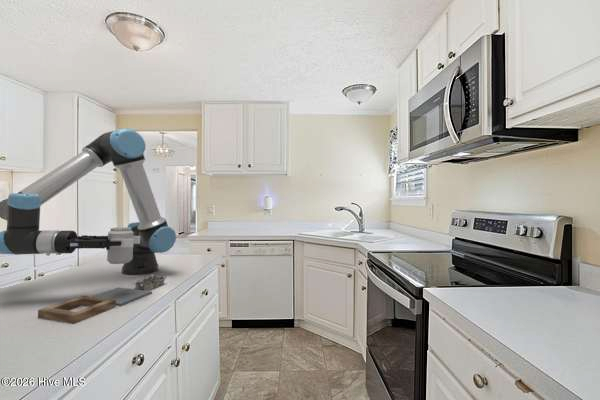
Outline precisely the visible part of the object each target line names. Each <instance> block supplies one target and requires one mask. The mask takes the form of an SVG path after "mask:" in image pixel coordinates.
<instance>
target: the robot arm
mask: <svg viewBox="0 0 600 400" xmlns="http://www.w3.org/2000/svg"><path fill="white" fill-rule="evenodd" d="M81 149H82V150H81V152H80V153H78V154H77V155H75V156H73V157H71V158H70V159H69V160H67V161H65V162H64V163H63V164H61V165H59V166H57V167H56V168H54V169H53V170H50V171H49V172H48V173H46V174H45V175H44V176H42V177H41V178H39V179H37V180H36V181H33V182H32V183H30V184H29V185H28V186H26V187H24V188H22V189H21V190H20V191H18V192H17V193H16V192H15V193H13V192H12V193H10V194H8V197H7V198H5V199H3V200H1V201H0V219H2V220H4V221H7V222H6V228H5V229H6V230H2V231H0V254H1V255H15V256H16V255H17V256H19V255H45V256H50V255H51V254H54V255H55V254H72V253H74V252H75V251H76V249H80V250H81V249H103V250H104V249H105V250H106V251H108V250H110V246H111V247H133V259H132V260H131V261H130V262H128V263H124V264H123V265H122V266H121V273H122V274H125V275H143V274H144V275H145V274H150V273H151V274H152V273H154V272H156V271H158V270H159V263H158V261H157V257H156V254H157V253H159V254H161V253H163V254H164V253H166V252H169V251H170V250H171V249H172V248H173V247H174V245H175V243H176V241H177V233H176V231H175V230H174V229H173V228H172V227H170V226H169V225H168V222H167V219H166V217H162V216H161V213H160V210H159V208H158V205H157V202H156V198H155V196H154V193H153V190H152V187H151V185H150V181H149V179H148V176H147V173H146V170H145V167H144V162H146V158H145V154H144V153H145V151H146V142H145V140H144V138H143V136H142V135H141V134H140V133H139V132H137V131H135V130H133V129H131V128H118V129H115V130H112V131H108V132H104V133H102V134H101V135H99V136H98V137H97V138H95V139H94V140H93V141H91V142H90V143H88V144H87V145H86V146H83V147H82V148H81ZM109 163H112V164H113V167H114V168H117V169H119V171H120V174H121V176H122V179H123V182H124V184H125V188H126V189H127V193H128V195H129V197H130V200H131V203H132V206H133V209H134V211H135V213H136V217H137V219H138V221H139V222H138V221H137V222H130V223H129V224H128V225H127V227H128V228H132V229H131V230H132V231H133V239H111V241H110V240H109V239H108V235H86V234H85V235H78V234H77V232H76V231H75V230H50V229H49V230H48V229H47V230H40V218H41V206H43V205H44V204H45V203H47V202H48V201H50V200H51V199H52V198H54V197H56V196H57V195H59V194H60V193H61V192H63V191H64V190H66V189H67V188H69V187H70V186H72V185H73V184H75V183H76V182H78V181H79V180H80V179H82V178H83V177H85V176H87V174H89V173H91V172H92V171H94V170H95V169H96V168H102V167H104V166H106V165H107V164H109ZM155 253H156V254H155Z"/></svg>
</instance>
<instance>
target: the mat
mask: <svg viewBox="0 0 600 400" xmlns="http://www.w3.org/2000/svg"><path fill="white" fill-rule="evenodd" d="M152 293H153V291H152V290H147V291H144V289H141V290H136V288H134V289H133V288H127V287H115V288H113V289H109V290H106V291H104V292H100V293H97V294H94V295H91V296H90V297H98V298H105V299H112V300H116V307H123V306H125V305H127V304H130V303H132V302H133V303H134V301H137V300H140V299H142V298H144V297H148V296H149V295H152Z"/></svg>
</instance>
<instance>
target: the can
mask: <svg viewBox="0 0 600 400" xmlns="http://www.w3.org/2000/svg"><path fill="white" fill-rule="evenodd" d="M131 229H132V228H128V226H127V227H120V226H119V227H110V231H109V232H108V233H107V236H108V239H109V240H110V241H111V239H133V231H132V230H131ZM106 251H107V255H106V256H107V257H106V261H107V263H109V264H111V265H122V264H123V265H124V263H128V262H130V261H131V260H132V259H133V247H111V246H110V250H106Z"/></svg>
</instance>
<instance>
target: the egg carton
mask: <svg viewBox="0 0 600 400" xmlns="http://www.w3.org/2000/svg"><path fill="white" fill-rule="evenodd" d="M166 278H167V277H166V276H165V277H164V276H163V275H157V274H156V275H155V274H153V273H151V274H150V275H148V276H146V277H145V276H144V277H142V278H140V279H136V280H134V282H133V285H134V284H135V289H136V290H144V291H152V290H153V289H155V288H159V287H160V286H164V285H165V280H166Z"/></svg>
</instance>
